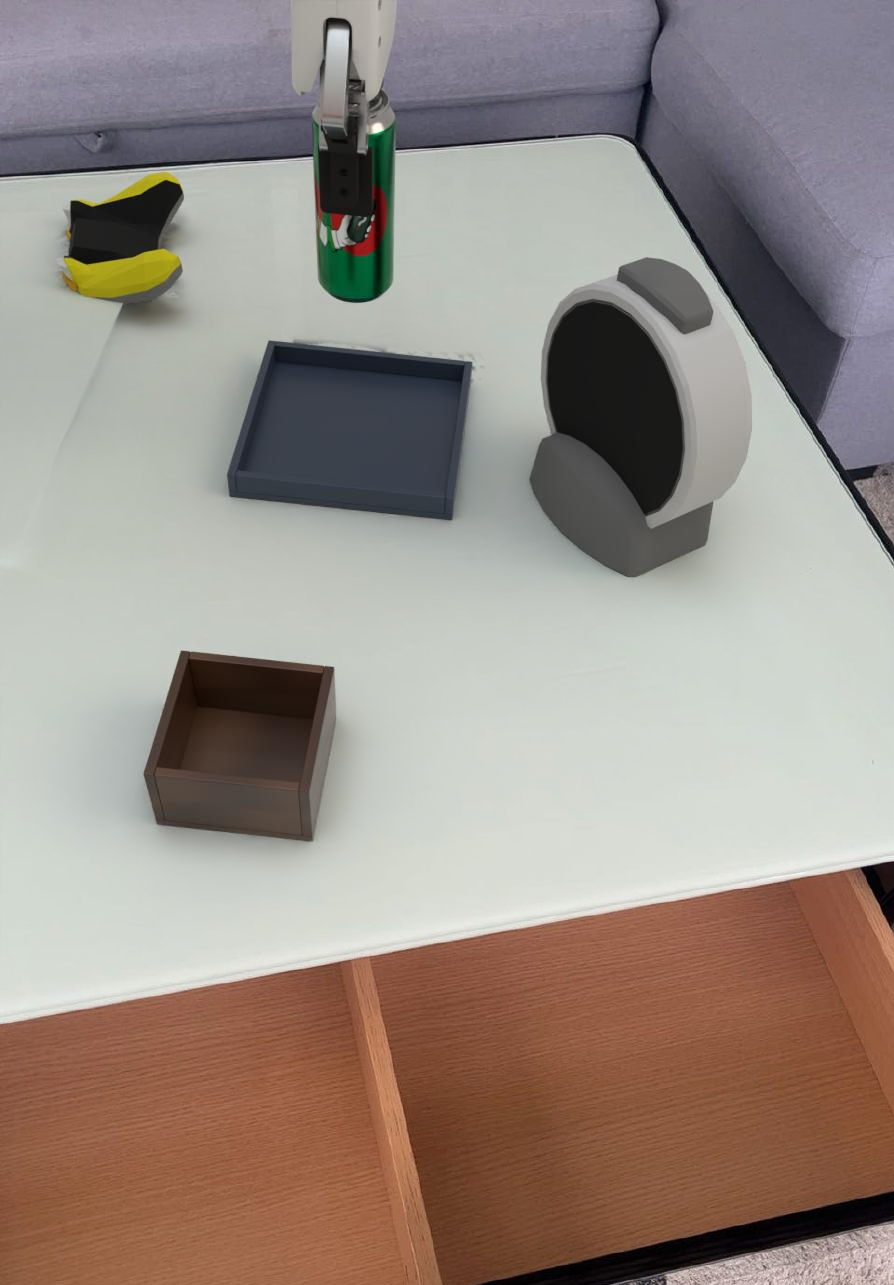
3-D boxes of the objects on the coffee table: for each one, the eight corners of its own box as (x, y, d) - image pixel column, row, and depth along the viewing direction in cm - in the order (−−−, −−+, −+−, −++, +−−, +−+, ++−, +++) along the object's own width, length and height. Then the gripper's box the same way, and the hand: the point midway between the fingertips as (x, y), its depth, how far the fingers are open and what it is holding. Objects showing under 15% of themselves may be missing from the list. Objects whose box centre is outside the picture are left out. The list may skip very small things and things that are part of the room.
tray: (229, 496, 85) (226, 474, 84) (270, 362, 95) (268, 339, 93) (452, 520, 85) (453, 498, 83) (470, 383, 94) (472, 361, 93)
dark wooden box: (156, 824, 69) (142, 773, 65) (191, 703, 74) (180, 649, 70) (312, 841, 69) (309, 792, 65) (336, 719, 74) (334, 666, 70)
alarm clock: (497, 468, 89) (523, 234, 74) (604, 425, 92) (649, 194, 77) (631, 603, 81) (689, 373, 66) (741, 550, 85) (820, 322, 70)
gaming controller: (189, 226, 105) (74, 228, 104) (181, 164, 101) (61, 165, 100) (188, 326, 97) (62, 328, 96) (179, 263, 92) (47, 264, 91)
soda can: (408, 286, 80) (413, 99, 70) (356, 317, 78) (354, 128, 68) (355, 256, 82) (352, 70, 72) (302, 284, 79) (292, 96, 70)
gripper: (303, -230, 64) (315, 117, 79) (242, -116, 55) (269, 256, 69) (439, -217, 64) (427, 128, 79) (403, -100, 54) (396, 269, 69)
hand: (353, 185), depth 74 cm, fingers closed on soda can, 5 cm apart
